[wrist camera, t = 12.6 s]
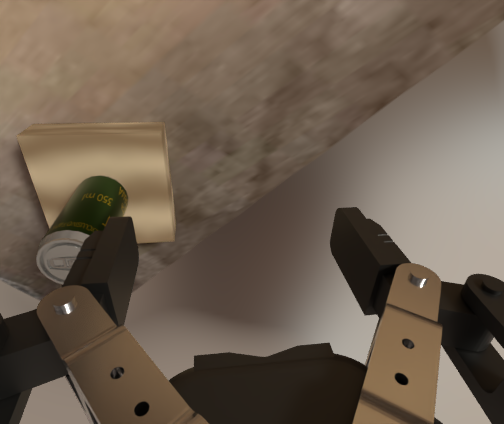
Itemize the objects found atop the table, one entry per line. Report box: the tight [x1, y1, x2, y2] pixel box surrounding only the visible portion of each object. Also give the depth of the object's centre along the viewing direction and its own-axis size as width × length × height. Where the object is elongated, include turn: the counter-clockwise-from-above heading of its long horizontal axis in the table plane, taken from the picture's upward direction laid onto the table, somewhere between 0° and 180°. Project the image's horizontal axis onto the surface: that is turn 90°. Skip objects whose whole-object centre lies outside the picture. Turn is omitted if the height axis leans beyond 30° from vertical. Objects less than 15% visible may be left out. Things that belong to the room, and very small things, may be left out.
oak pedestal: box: [16, 122, 176, 243], centre depth 39 cm, size 14×14×4 cm
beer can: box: [36, 175, 128, 284], centre depth 32 cm, size 5×5×12 cm
